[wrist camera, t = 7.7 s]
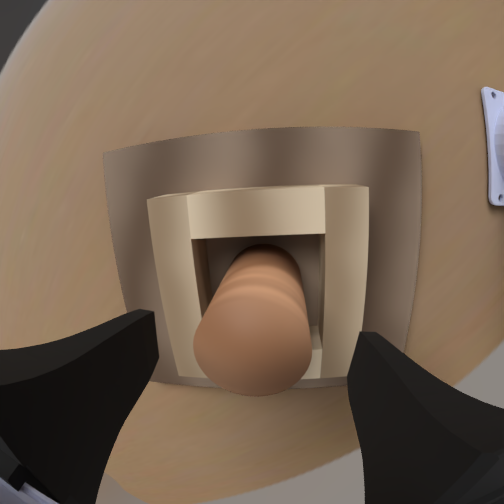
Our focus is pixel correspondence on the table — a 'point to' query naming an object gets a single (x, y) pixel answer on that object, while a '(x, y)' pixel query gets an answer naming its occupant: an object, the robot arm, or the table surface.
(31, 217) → the table surface
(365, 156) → the socket
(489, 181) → the robot arm
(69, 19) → the table surface
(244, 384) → the peg
